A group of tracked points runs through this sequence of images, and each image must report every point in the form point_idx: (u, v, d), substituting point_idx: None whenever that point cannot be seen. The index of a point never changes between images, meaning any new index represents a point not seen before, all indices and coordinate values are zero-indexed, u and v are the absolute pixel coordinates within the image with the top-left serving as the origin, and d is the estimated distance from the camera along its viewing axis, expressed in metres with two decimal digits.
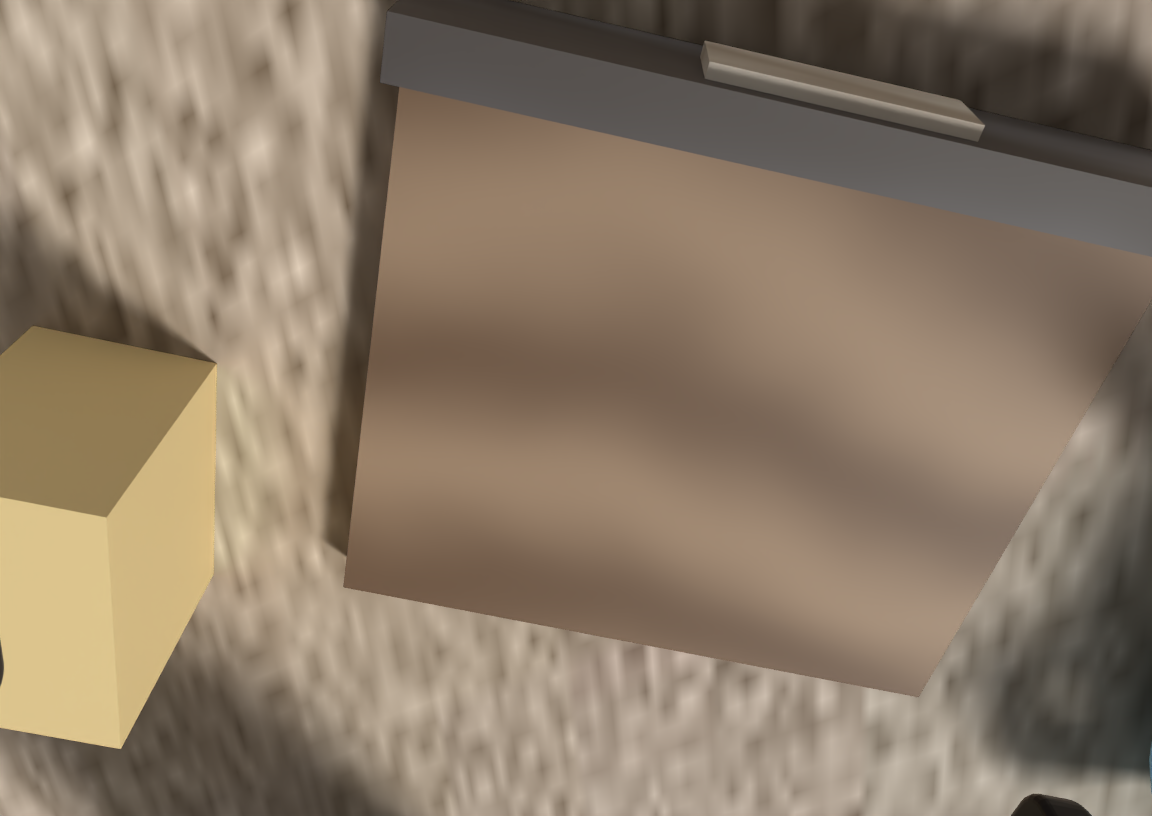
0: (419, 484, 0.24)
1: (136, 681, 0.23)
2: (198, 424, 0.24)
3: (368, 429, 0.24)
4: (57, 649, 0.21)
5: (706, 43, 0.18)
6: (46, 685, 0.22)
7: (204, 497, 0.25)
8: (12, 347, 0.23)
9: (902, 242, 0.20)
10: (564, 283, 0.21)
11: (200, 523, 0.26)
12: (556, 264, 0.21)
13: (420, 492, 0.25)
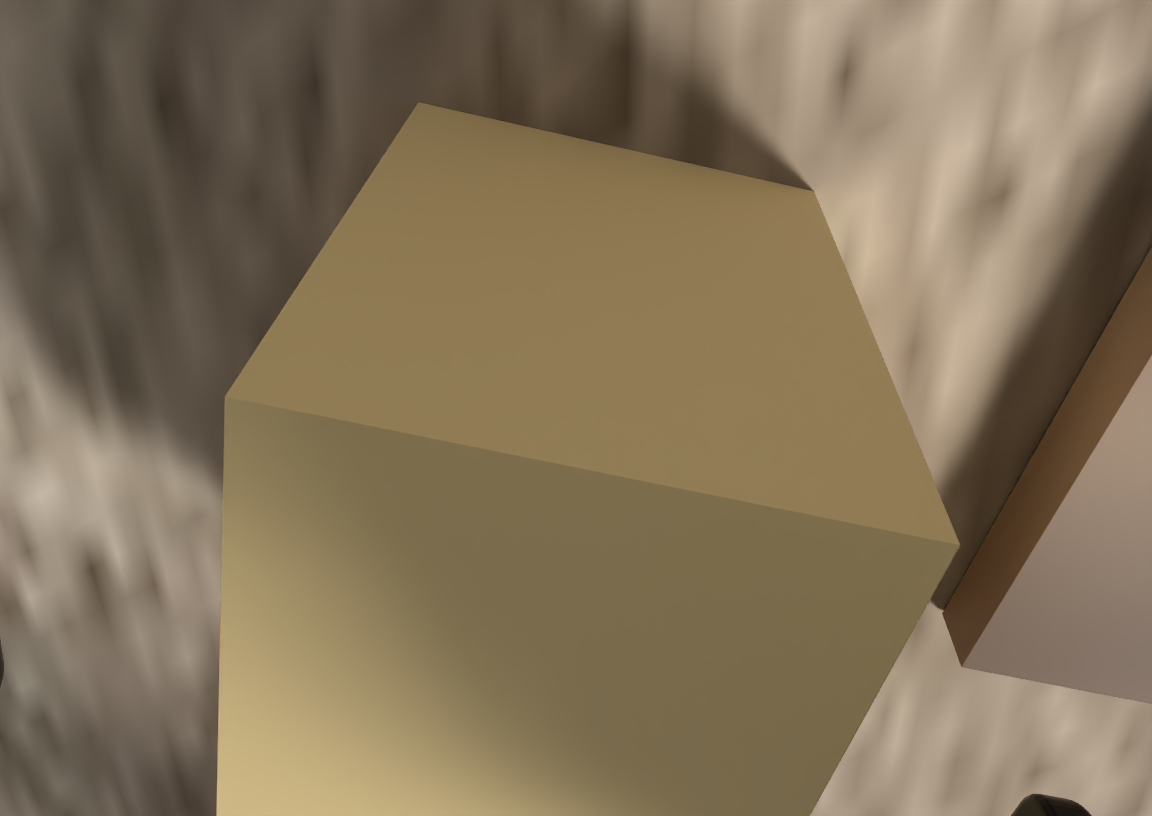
0: None
1: None
2: None
3: None
4: None
5: None
6: None
7: None
8: (405, 133, 0.10)
9: None
10: None
11: None
12: None
13: None
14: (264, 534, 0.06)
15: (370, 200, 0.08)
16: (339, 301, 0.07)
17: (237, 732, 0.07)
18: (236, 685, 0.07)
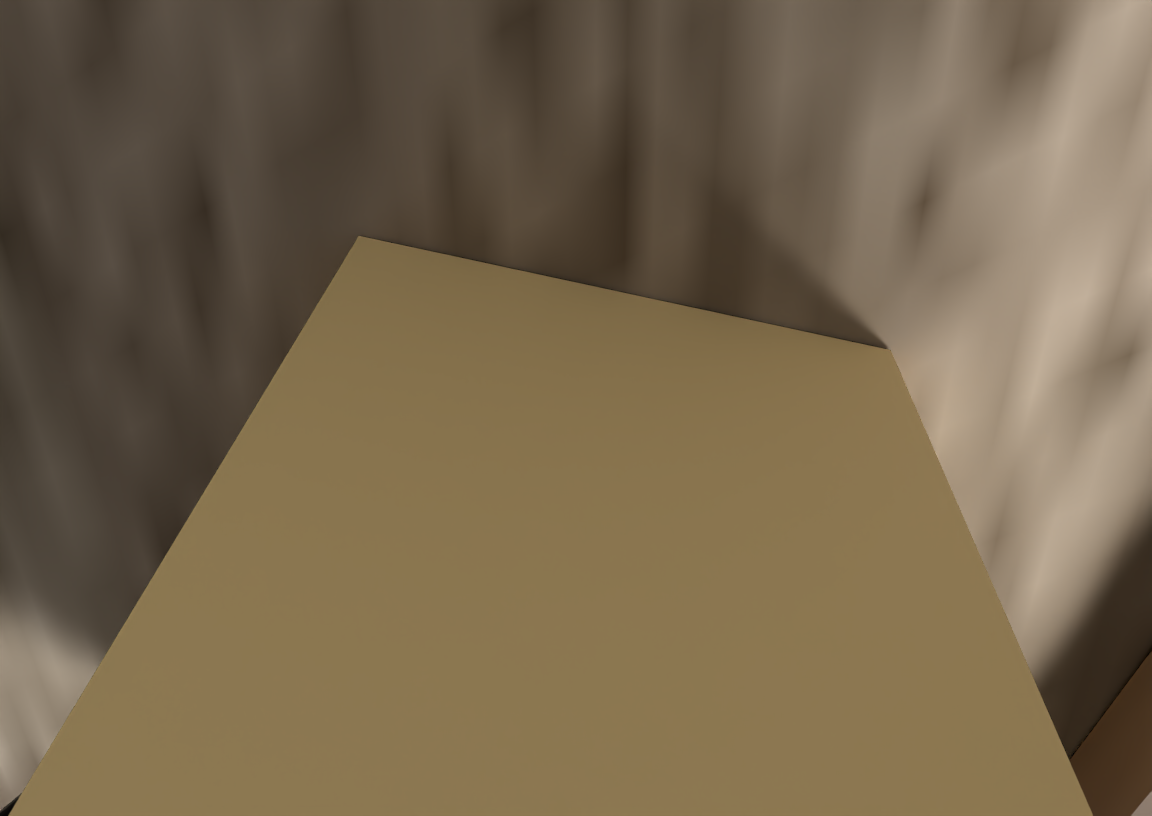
0: None
1: None
2: None
3: None
4: None
5: None
6: None
7: None
8: (329, 300, 0.07)
9: None
10: None
11: None
12: None
13: None
14: None
15: (256, 445, 0.05)
16: (161, 707, 0.04)
17: None
18: None
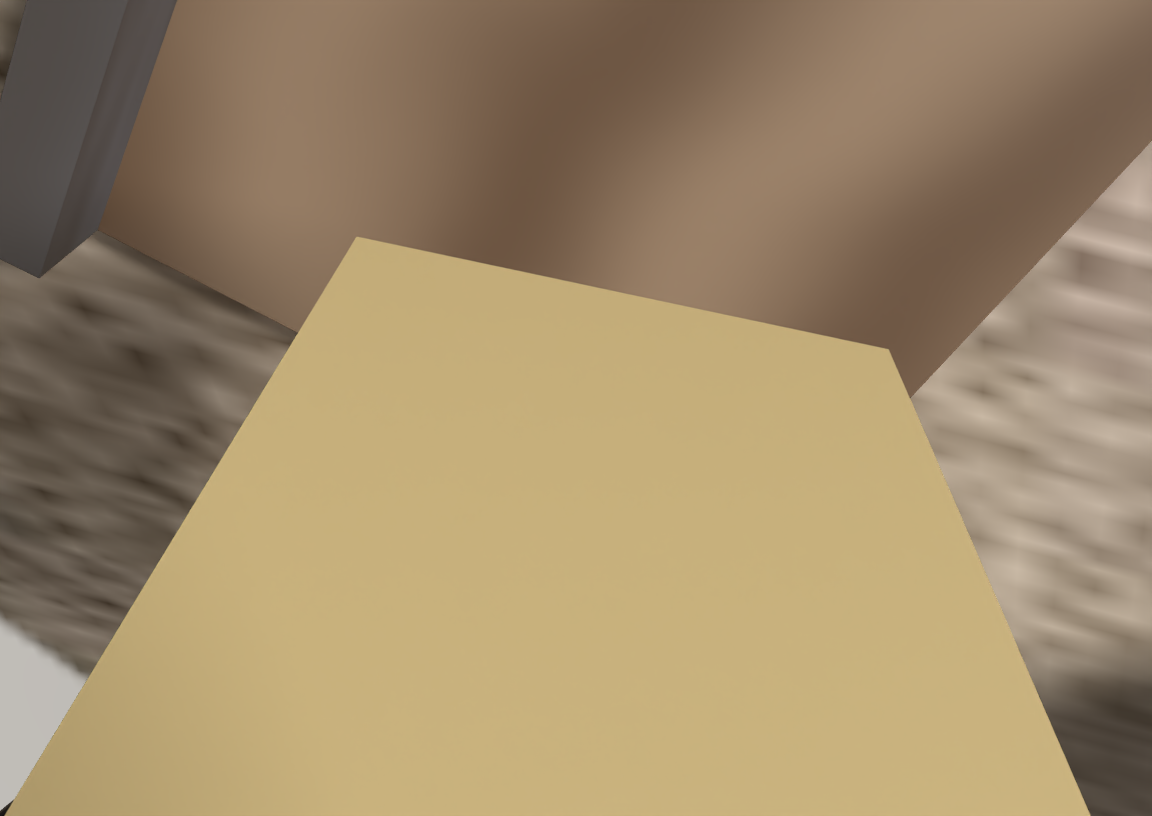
0: None
1: None
2: None
3: None
4: None
5: None
6: None
7: None
8: (328, 300, 0.07)
9: None
10: (396, 158, 0.16)
11: None
12: (369, 158, 0.16)
13: None
14: None
15: (253, 446, 0.05)
16: (157, 707, 0.04)
17: None
18: None
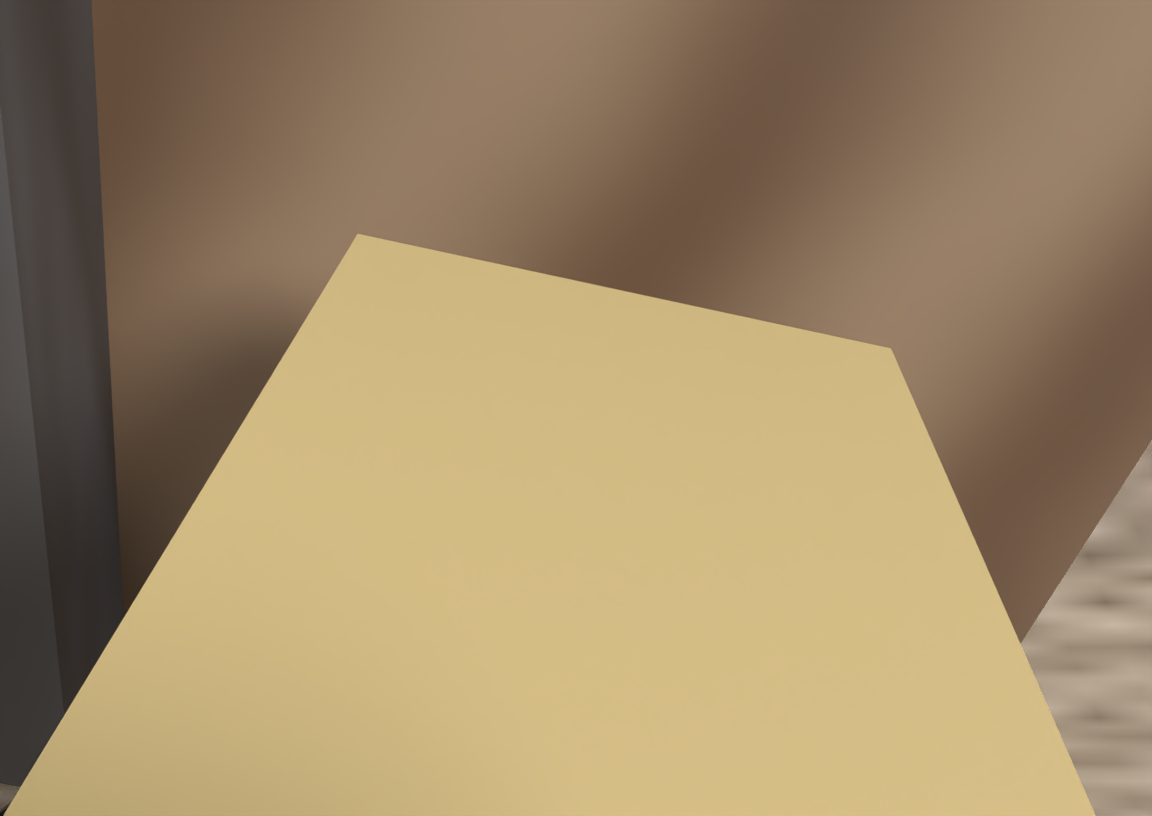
0: None
1: None
2: None
3: None
4: None
5: None
6: None
7: None
8: (328, 298, 0.07)
9: (222, 124, 0.12)
10: None
11: None
12: None
13: None
14: None
15: (254, 443, 0.05)
16: (158, 706, 0.04)
17: None
18: None
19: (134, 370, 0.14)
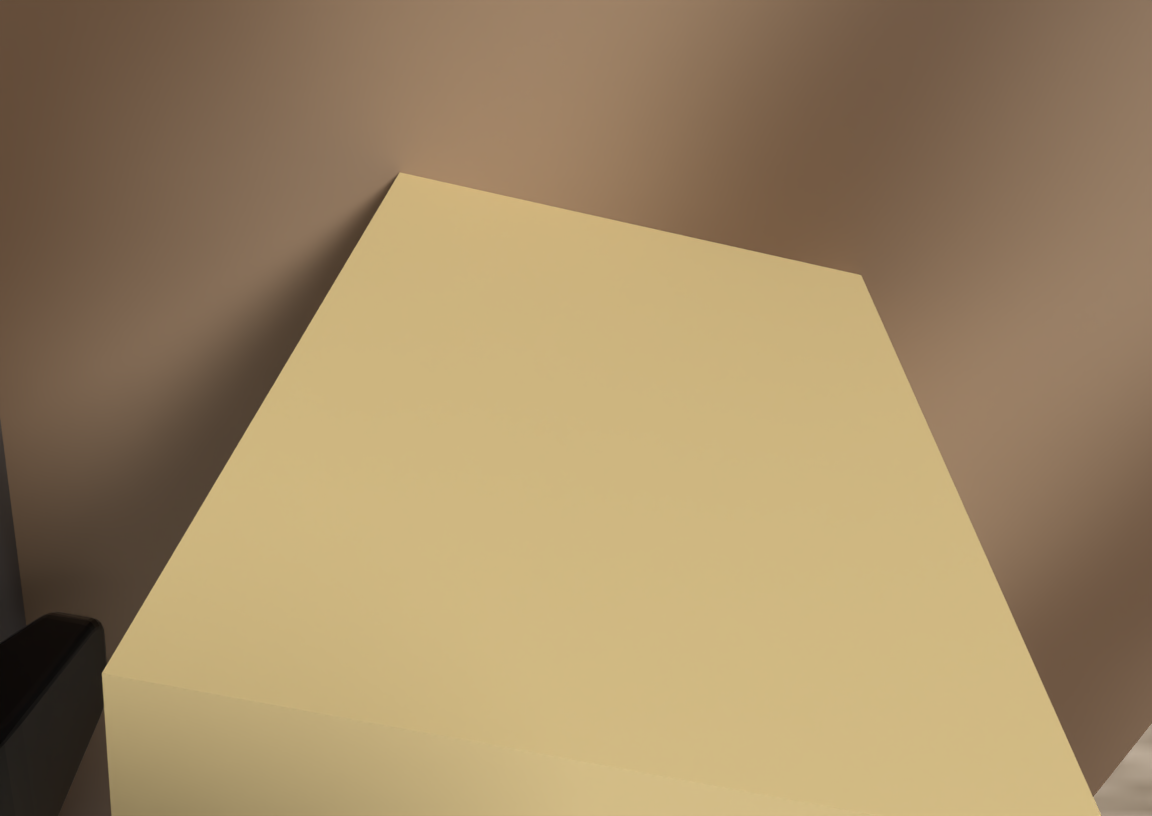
0: None
1: None
2: None
3: None
4: None
5: None
6: None
7: None
8: (380, 218, 0.08)
9: (127, 213, 0.09)
10: None
11: None
12: None
13: None
14: None
15: (330, 321, 0.07)
16: (278, 487, 0.05)
17: None
18: None
19: (38, 494, 0.11)
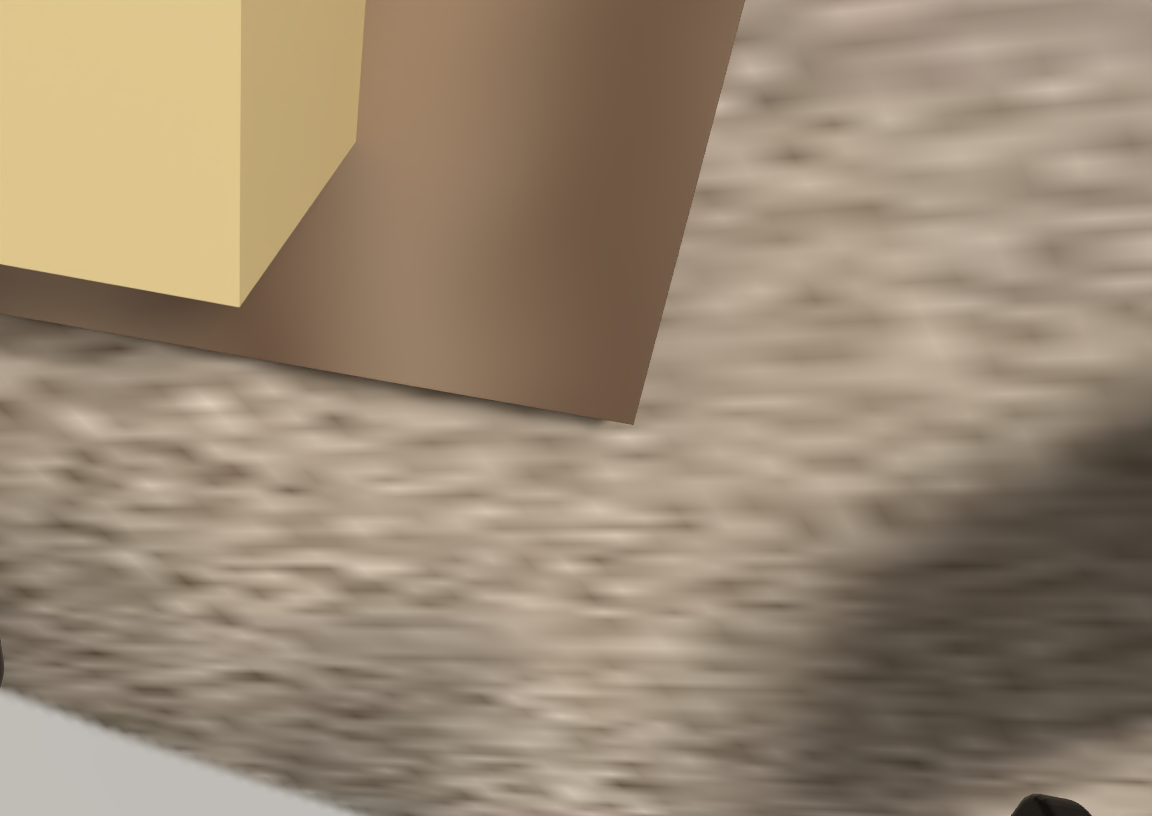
0: (442, 317, 0.18)
1: (266, 174, 0.11)
2: None
3: (363, 369, 0.19)
4: (113, 11, 0.10)
5: None
6: (89, 130, 0.10)
7: None
8: None
9: None
10: None
11: None
12: None
13: (455, 317, 0.18)
14: None
15: None
16: None
17: None
18: None
19: None
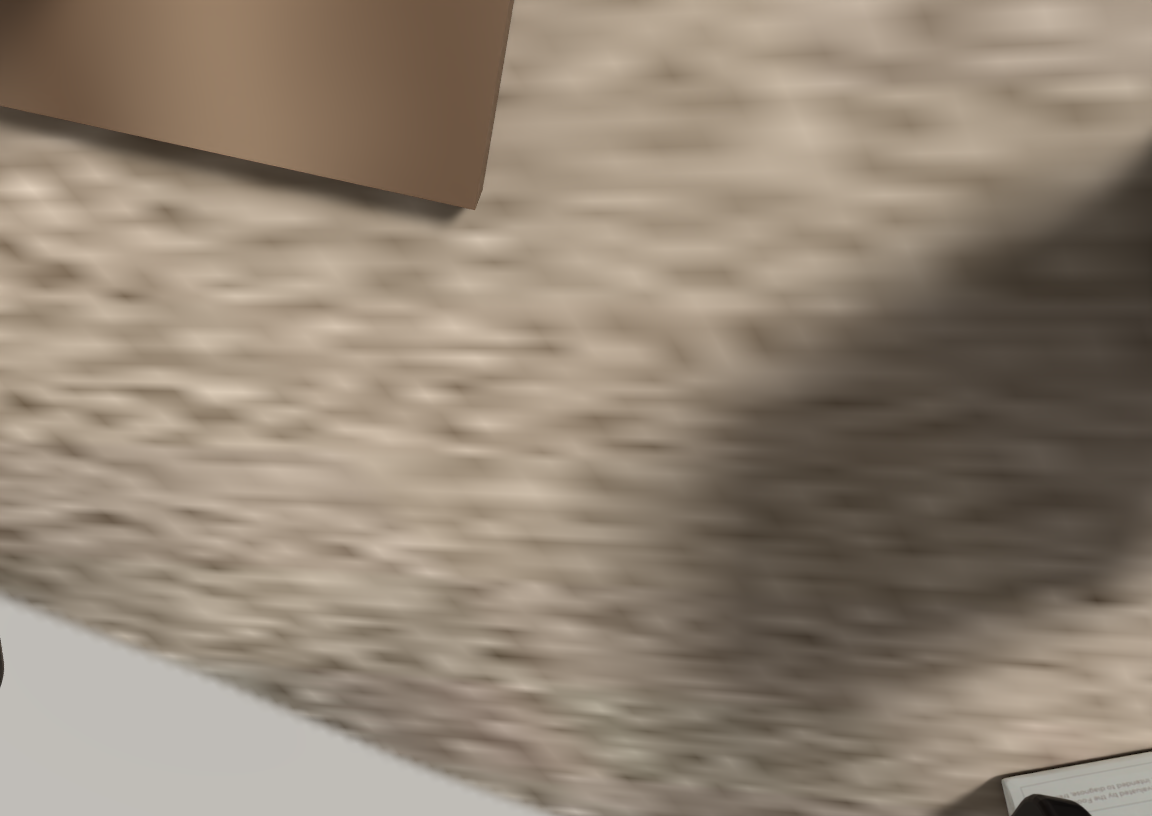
0: (260, 72, 0.17)
1: None
2: None
3: (180, 134, 0.17)
4: None
5: None
6: None
7: None
8: None
9: None
10: None
11: None
12: None
13: (274, 72, 0.17)
14: None
15: None
16: None
17: None
18: None
19: None
